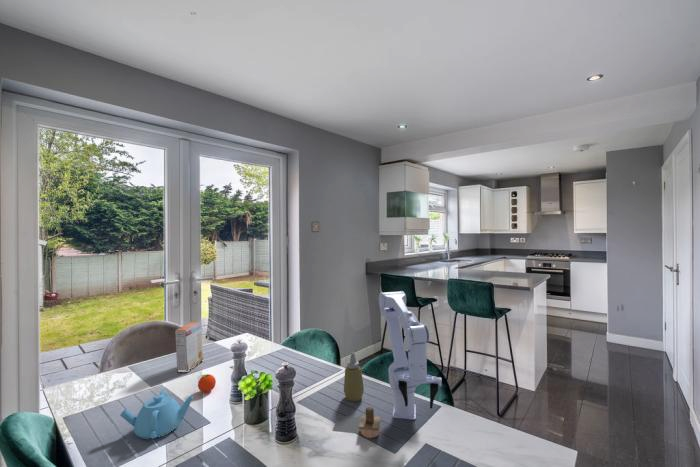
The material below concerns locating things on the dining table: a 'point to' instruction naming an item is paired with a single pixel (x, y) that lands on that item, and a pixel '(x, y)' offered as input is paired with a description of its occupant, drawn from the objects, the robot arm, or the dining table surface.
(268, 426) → the dining table surface
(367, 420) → the lid
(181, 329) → the cracker box
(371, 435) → the bowl
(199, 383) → the clementine
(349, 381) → the squeeze bottle
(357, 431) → the coaster
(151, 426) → the teapot
